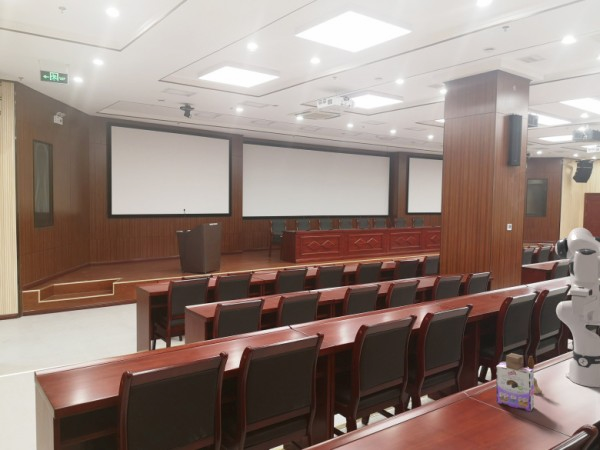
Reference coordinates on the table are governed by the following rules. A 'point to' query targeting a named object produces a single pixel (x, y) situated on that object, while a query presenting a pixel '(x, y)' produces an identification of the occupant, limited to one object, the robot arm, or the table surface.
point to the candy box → (515, 387)
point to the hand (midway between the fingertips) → (586, 322)
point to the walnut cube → (514, 361)
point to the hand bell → (536, 388)
